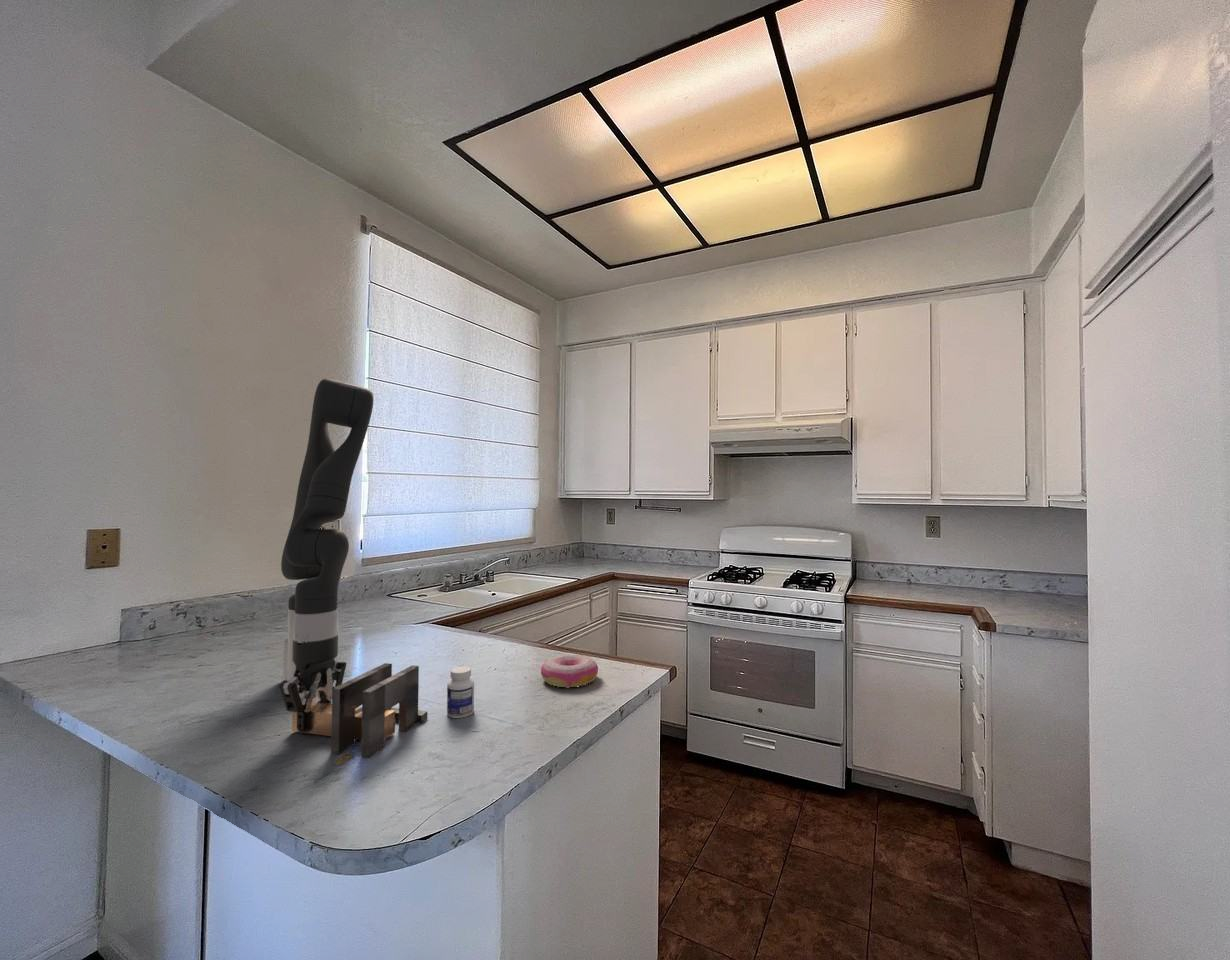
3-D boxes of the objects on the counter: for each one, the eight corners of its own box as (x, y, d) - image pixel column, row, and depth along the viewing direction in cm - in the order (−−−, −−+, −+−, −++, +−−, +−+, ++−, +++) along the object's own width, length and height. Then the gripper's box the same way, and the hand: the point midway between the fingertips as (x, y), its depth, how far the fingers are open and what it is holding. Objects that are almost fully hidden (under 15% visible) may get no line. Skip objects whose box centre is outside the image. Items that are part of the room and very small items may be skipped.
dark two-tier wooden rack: (313, 761, 87) (314, 694, 87) (387, 714, 105) (388, 659, 106) (360, 768, 85) (361, 699, 85) (427, 719, 103) (428, 663, 104)
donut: (529, 685, 122) (530, 664, 122) (559, 668, 134) (559, 649, 134) (580, 695, 116) (580, 672, 116) (606, 676, 128) (606, 656, 129)
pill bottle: (450, 708, 108) (450, 665, 109) (476, 707, 109) (476, 664, 109) (444, 719, 103) (444, 674, 103) (471, 718, 104) (471, 673, 104)
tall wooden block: (291, 731, 97) (292, 709, 97) (309, 721, 101) (309, 700, 101) (380, 742, 93) (380, 719, 93) (394, 732, 97) (395, 710, 97)
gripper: (328, 624, 107) (326, 709, 106) (266, 643, 93) (264, 741, 92) (359, 626, 105) (357, 712, 104) (301, 646, 91) (299, 745, 91)
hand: (314, 725), depth 98 cm, fingers closed on tall wooden block, 4 cm apart
